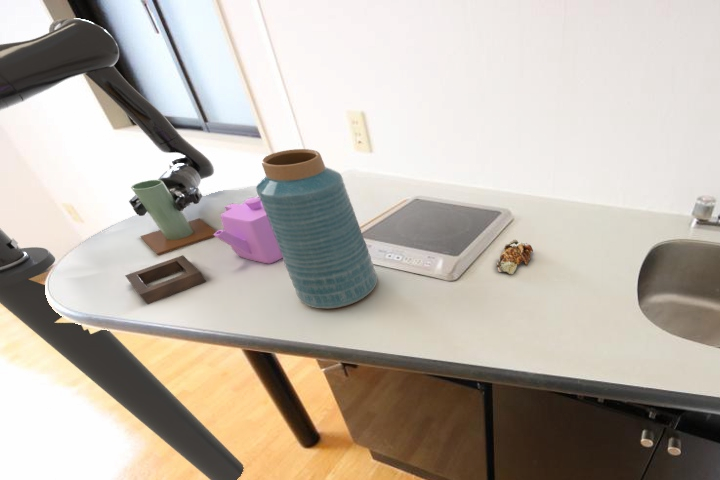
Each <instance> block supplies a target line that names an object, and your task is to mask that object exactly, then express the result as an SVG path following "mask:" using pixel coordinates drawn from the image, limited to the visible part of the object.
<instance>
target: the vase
mask: <svg viewBox="0 0 720 480" xmlns="http://www.w3.org/2000/svg"><path fill="white" fill-rule="evenodd" d="M261 165H262V168H263V172H264V173H265V176H264V177H263V178H261V180H260V181H259V182H257V184H256V187H255V189H256V194H257V195H258V197H259V198H260V201H261V202H262V205H263V207H264V211H265V212H266V216H267V218H268V221H269V223H270V226H271V229H272V231H273V233H274V236H275V239H276V241H277V244H278V246H279V249H280V251H281V254H282V257H283V258H282V259H283V263H284V265H285V268H286V271H287V273H288V277H289V279H290V280H291V283H292V286H293V288H294V291H295V293H296V296H297V298H298V299H299V301H300V302H302V303H303V304H305V305H306V306H307V307H308V306H309V307H310V308H311V307H312V308H316V309H339V308H343V307H347V306H350V305H353V304H355V303H358V302H359V301H361V300H362V299H364V298H365V297H367V296H369V294H371V293H372V292H373V290H374V289H375V287H376V285H377V283H378V275H377V271H376V269H375V268H374V263H373V261H372V256H371V254H370V252H369V248H368V246H367V243H366V241H365V238H364V236H363V233H362V230H361V228H360V227H361V226H360V224H359V221H358V219H357V215H356V213H355V210H354V206H353V204H352V202H351V198H350V194H349V193H348V190H347V188H346V183H345V182H344V178H343V175H342V174H341V173H340V172H339V171H338V170H335V169H333V168H330V167H329V166H326V165H325V163H324V160H323V157H322V155H321V153H320V152H319V151H317V150H315V149H310V148H309V149H308V148H307V149H306V148H297V149H288V150H287V149H286V150H281V151H277V152H273V153H271V154H268V155H266V156H264V157H263V158H262V159H261Z"/></svg>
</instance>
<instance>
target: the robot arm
mask: <svg viewBox="0 0 720 480" xmlns="http://www.w3.org/2000/svg"><path fill="white" fill-rule="evenodd" d="M119 58H120V48H119V46H118V43H117V41H116V40H115V38H114V37H113V36H112V35H111V34H110V33H109V32H108V31H107V30H106V29H104V28H103V27H101V26H100V25H98V24H96V23H95V22H92V21H89V20H86V19H81V18H60V19H56V20H54V21H52V22H51V23H50V25H49V27H48V33H45V34H43V35H40V36H39V37H36V38H31V39H29V40H24V41H16V42H7V43H1V44H0V112H1V111H3V110H6V109H9V108H11V107H14V106H16V105H18V104H21V103H23V102H25V101H26V102H27V100H29V99H32V98H34V97H36V96H38V95H40V94H42V93H44V92H46V91H48V90H50V89H52V88H53V87H55V86H57V85H59V84H61V83H63V82H65V81H67V80H69V79H72V78H75V77H77V76H81V75H85V76H86V77H87V78H89V79H90V80H91V81H93V83H94V84H95V85H96V86H98V88H99V89H100V90H102V91H103V92H104V93H105V94H106V95H107V96H108V97H109V98H110V99H111V100H112V101H113V102H114V103H115V104H116V105H117V106H118V107H119V108H120V109H121V110H122V111H123V112H124V113H125V114H126V115H127V116H128V117H129V118H130V119H131V120H132V122H133V123H134V124H136V126H137V127H138V128H139V129H140V130H141V131H142V133H144V135H145V136H146V137H147V138H148V139H149V140H150V141H151V143H153V144H154V145H155V147H156V148H157V149H158V150H159V151H161V152H162V153H165V154H173V153H175V154H176V153H177V154H181V155H182V156H179V157H175V158H173V159H172V160H170V161H169V163H168V168H169V169H168V170H166V171H165V172H164V173H163V174H162V175H160V177H158V179H157V180H162V181H163V182H164V184H165V186H166V187H167V189H168V190H169V192H170V194H171V195H172V197H173V198H174V200H175V202H174V204H175V206H176V207H177V209H178V211H182V212H183V211H184V210H185V209H186V208H187V207H189V206H191V204H194V205H197V204H200V201H201V200H202V197H203V195H202V192H201V191H200V189H199V186H200V184H201V180H203V179H207V178H210V177H212V176H213V175H214V173H215V168H214V165H213V163H212V162H211V160H210V159H209V158H208V157H207V156H206V155H205V154H204V153H202V152H201V151H200V150H198V149H197V148H196V147H195V146H193V145H192V144H191V143H189V142H188V141H187V140H186V139H185V138H184V137H183V136H182V135H181V134H180V133H179V132H178V131H177V129H176V128H175V127H174V126H173V125H172V123H171V122H170V121H169V120H168V119H167V117H166V116H165V115H164V114H163V113H162V112H161V111H160V110H159V109H158V108H157V107H156V106H155V105H153V104H152V103H151V102H150V101H149V100H147V98H145V97H144V96H143V95H142V94H141V93H139V92H138V91H137V90H136V89H135V88H134V87H133V86H132V85H131V84H130V83H129V82H128V81H127V80H126V78H124V77H123V75H122V74H121V73H120V72H119V71H118V69H117V68H116V67H115V65H116V63H117V62H118V60H119ZM128 203H129V204H130V205H131V207H132V209H133V211H134V212H135V213H136V215H138V216H139V217H143V216H145V215H146V214H147V213H148V212H147V210H146V209H145V208H144V206H143V205H142V203H141V202H140V200H139V199H138V197H137V196H136V195H135V194H134V196H133V197H131V199H129V200H128ZM18 244H19V242H17V241H16V239H14V238H11V237H10V236H9V235H8V234H7V233H6V232H5V231H4V230H3V229H2V228H1V227H0V272H3V271H7V270H10V269H12V268H15V267H17V266H19V265H21V264H23V263H25V262H26V261H27V260H28V259H29V255H28V254H27V253H26V252H24V251H23V250H22V249H21V247H20V246H19V245H18Z"/></svg>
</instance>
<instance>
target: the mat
mask: <svg viewBox="0 0 720 480" xmlns="http://www.w3.org/2000/svg"><path fill="white" fill-rule="evenodd" d="M187 221H188V220H187ZM188 222H189V224H190V225H191V227H192V229H193V233H192V234H191V235H189V236H187V237H185V238H181V239H176V240H169V239H166V238H165V236H164V235H163V234H162V232H161V231H160V229H159V230H156V231H152V232H150V233H146V234H143V235H140V236H139V237H140V238H141V239H142V240H143V242H145V243H146V244H147V245H148V247H149V248H150V249H151V250H152V251H153V252H154V254H156V255H157V256H161V255H164V254H167V253H170V252H172V251H175V250H179V249H182V248H184V247H187V246H190V245H194V244H197V243H200V242H202V241H206V240H208V239H211V238H215V236H214V235H213V234H214V233H216V232H217V231H218V230H216V229H214V228H213V227H211V226H210V225H209V224H207V223H206V222H205V221H204V220H202V219H201V218H199V217H198V218H195V219H192V220H189V221H188Z"/></svg>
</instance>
